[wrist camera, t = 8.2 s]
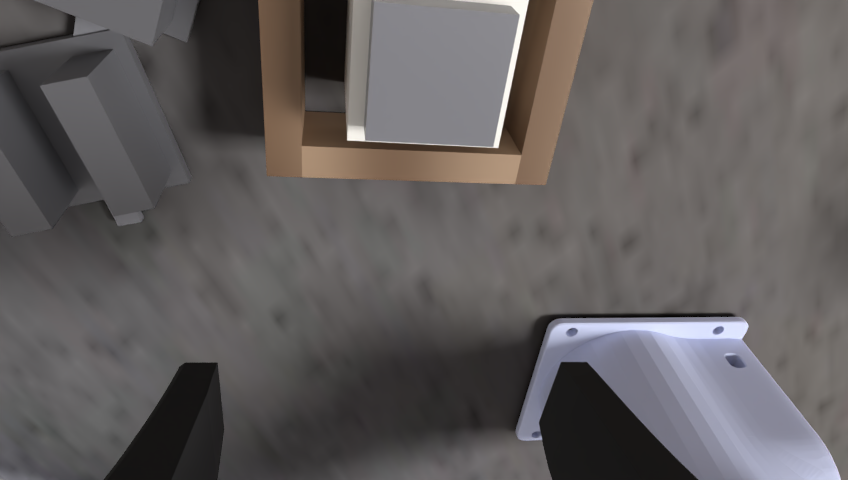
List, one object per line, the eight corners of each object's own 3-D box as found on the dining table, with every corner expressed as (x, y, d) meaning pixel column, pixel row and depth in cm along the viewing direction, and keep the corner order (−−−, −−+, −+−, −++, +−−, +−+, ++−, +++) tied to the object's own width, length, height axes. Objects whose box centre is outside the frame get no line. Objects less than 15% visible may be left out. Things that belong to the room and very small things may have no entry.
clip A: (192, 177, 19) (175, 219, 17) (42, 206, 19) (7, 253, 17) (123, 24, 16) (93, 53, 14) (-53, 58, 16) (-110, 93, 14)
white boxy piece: (490, -45, 17) (541, -3, 13) (468, 90, 19) (505, 162, 15) (349, -61, 16) (355, -21, 12) (344, 81, 18) (347, 155, 14)
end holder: (589, -140, 16) (628, -134, 14) (524, 149, 20) (545, 184, 18) (260, -183, 14) (248, -184, 12) (273, 138, 19) (266, 175, 17)
